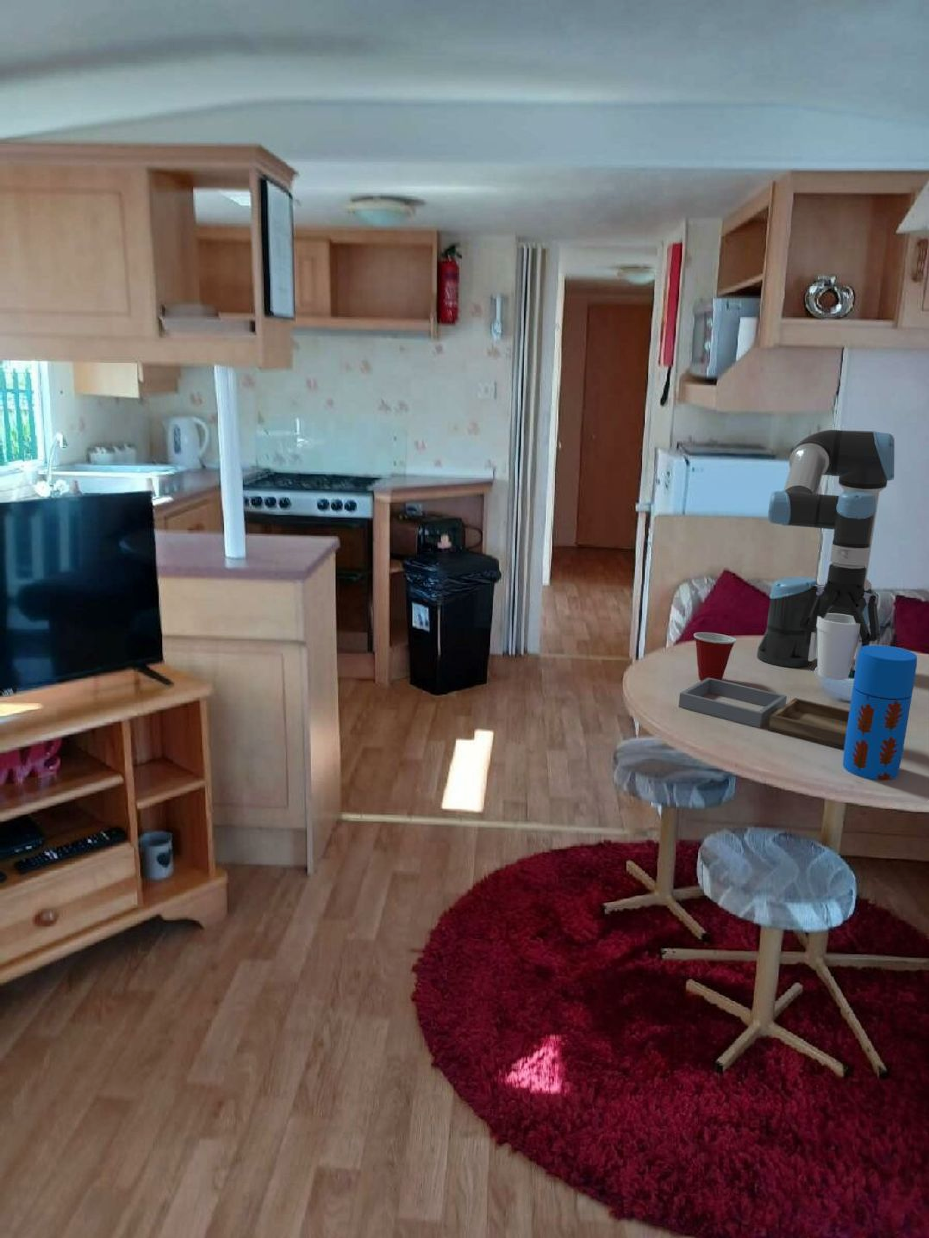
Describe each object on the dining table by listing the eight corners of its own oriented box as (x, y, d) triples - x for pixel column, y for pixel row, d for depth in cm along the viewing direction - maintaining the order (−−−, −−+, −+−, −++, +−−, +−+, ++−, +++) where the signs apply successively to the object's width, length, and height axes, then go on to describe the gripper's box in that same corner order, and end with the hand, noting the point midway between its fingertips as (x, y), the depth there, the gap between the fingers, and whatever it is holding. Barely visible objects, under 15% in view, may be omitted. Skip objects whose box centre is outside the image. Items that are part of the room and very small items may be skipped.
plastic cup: (738, 679, 248) (743, 635, 245) (720, 689, 240) (725, 644, 237) (700, 670, 255) (705, 627, 252) (681, 679, 247) (686, 635, 244)
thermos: (909, 780, 189) (929, 661, 183) (857, 780, 188) (875, 660, 182) (881, 758, 200) (899, 644, 193) (832, 758, 199) (849, 644, 192)
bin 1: (706, 690, 239) (708, 677, 238) (785, 709, 227) (786, 695, 226) (678, 706, 226) (679, 693, 226) (759, 727, 215) (761, 713, 214)
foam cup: (858, 683, 205) (867, 626, 201) (814, 679, 207) (821, 622, 203) (850, 670, 214) (858, 615, 210) (807, 667, 216) (815, 611, 212)
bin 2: (793, 711, 226) (795, 697, 225) (881, 733, 214) (883, 718, 213) (768, 730, 214) (770, 715, 213) (860, 753, 202) (862, 738, 201)
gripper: (791, 559, 207) (779, 657, 213) (897, 575, 194) (881, 679, 200) (803, 555, 213) (791, 650, 219) (906, 570, 200) (891, 671, 206)
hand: (834, 664), depth 210 cm, fingers closed on foam cup, 9 cm apart
